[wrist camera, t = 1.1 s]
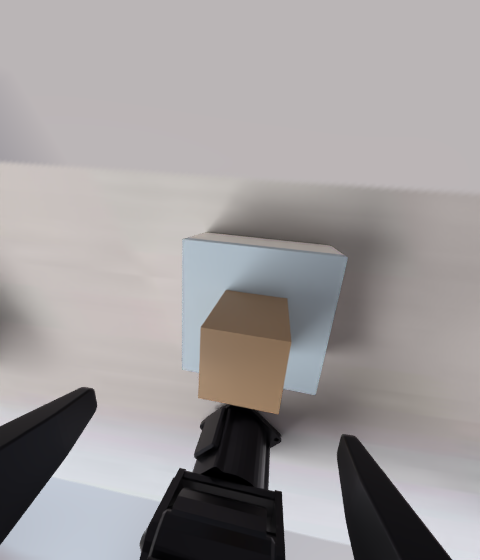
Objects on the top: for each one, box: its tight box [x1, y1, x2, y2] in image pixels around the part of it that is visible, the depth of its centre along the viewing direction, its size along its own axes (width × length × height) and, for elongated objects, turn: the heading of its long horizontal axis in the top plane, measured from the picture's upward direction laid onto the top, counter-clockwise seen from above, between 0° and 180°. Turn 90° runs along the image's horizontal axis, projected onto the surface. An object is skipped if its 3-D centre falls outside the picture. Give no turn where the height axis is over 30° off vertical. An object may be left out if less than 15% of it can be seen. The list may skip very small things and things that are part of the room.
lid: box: [182, 238, 348, 414], centre depth 13 cm, size 10×10×6 cm
